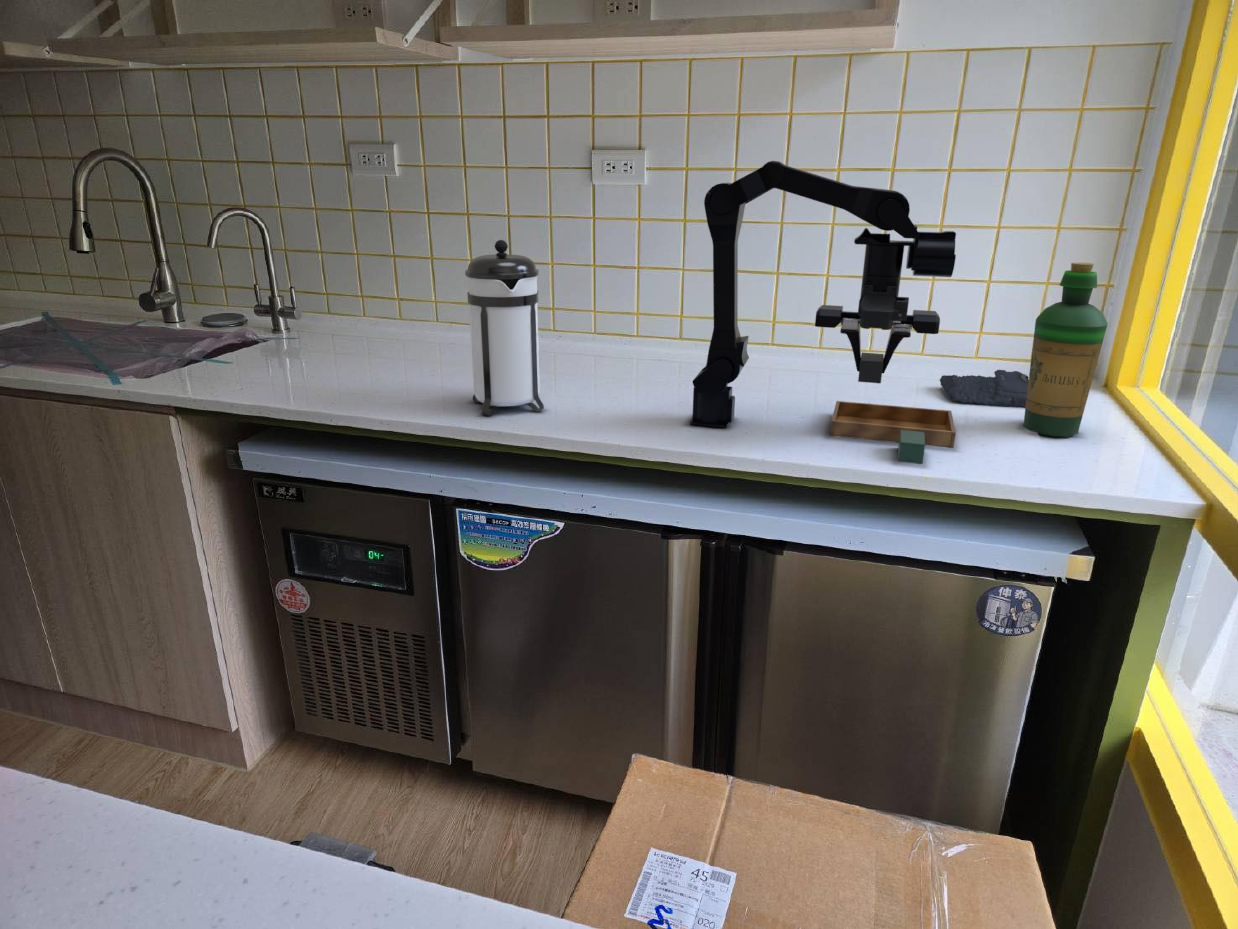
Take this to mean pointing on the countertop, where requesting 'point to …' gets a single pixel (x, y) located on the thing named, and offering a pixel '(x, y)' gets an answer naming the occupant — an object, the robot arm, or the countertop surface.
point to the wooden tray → (892, 423)
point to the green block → (911, 446)
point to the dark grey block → (871, 367)
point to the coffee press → (504, 330)
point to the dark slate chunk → (988, 389)
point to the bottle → (1064, 356)
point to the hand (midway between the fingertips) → (870, 371)
